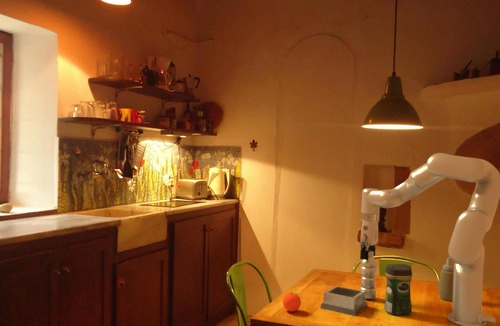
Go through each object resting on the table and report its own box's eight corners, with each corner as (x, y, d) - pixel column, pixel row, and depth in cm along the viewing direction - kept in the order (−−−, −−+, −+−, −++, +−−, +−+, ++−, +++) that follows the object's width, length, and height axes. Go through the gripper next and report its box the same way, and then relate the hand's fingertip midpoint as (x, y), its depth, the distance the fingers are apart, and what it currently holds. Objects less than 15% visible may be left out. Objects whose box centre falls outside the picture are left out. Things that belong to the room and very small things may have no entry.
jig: (367, 306, 169) (367, 291, 169) (355, 315, 158) (355, 299, 158) (334, 299, 177) (334, 284, 177) (320, 307, 165) (321, 292, 165)
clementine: (297, 307, 166) (298, 288, 166) (306, 313, 159) (307, 294, 159) (279, 308, 163) (279, 290, 163) (287, 315, 156) (287, 295, 156)
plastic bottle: (376, 301, 176) (378, 253, 176) (359, 300, 177) (361, 252, 177) (375, 297, 182) (376, 250, 182) (359, 295, 183) (360, 249, 183)
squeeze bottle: (436, 300, 181) (438, 257, 181) (438, 295, 188) (439, 254, 188) (458, 303, 177) (459, 260, 177) (458, 298, 184) (459, 257, 184)
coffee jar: (403, 308, 168) (404, 261, 168) (414, 315, 160) (416, 266, 160) (380, 309, 166) (382, 262, 166) (391, 316, 158) (392, 266, 158)
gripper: (372, 220, 170) (370, 262, 171) (384, 216, 185) (382, 255, 185) (354, 218, 175) (352, 259, 175) (367, 214, 189) (365, 253, 189)
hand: (367, 257), depth 180 cm, fingers open, 9 cm apart
